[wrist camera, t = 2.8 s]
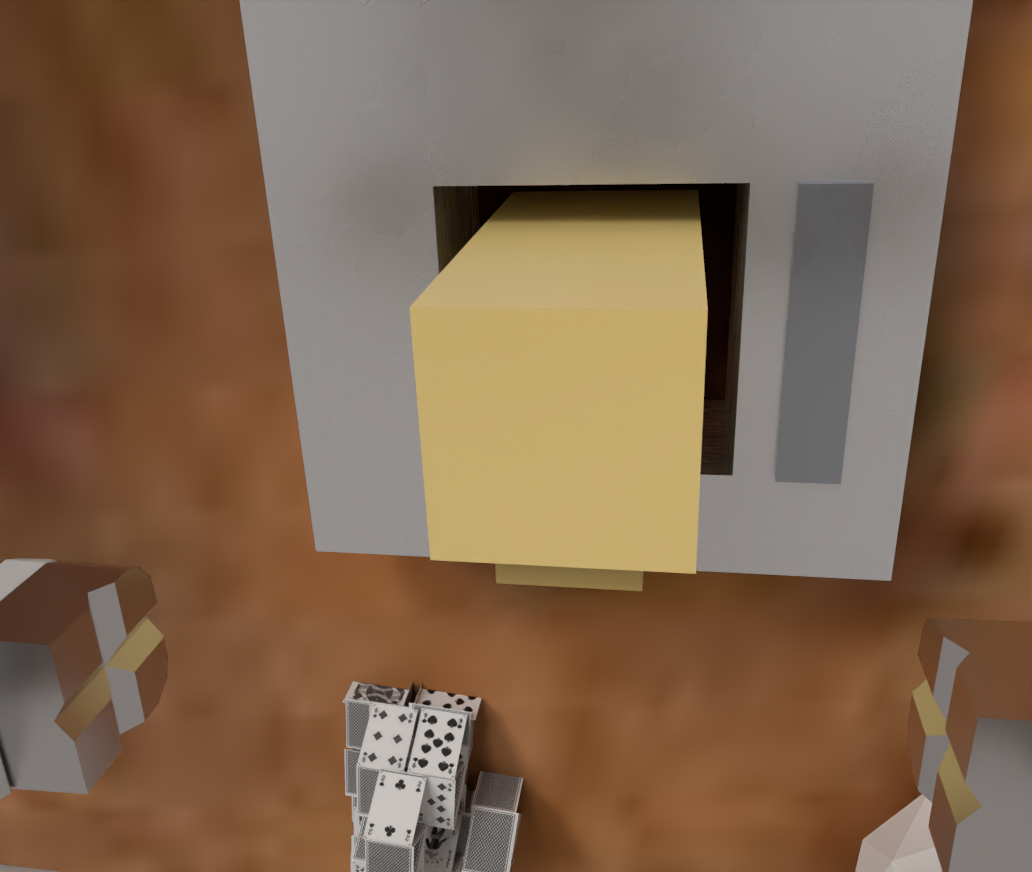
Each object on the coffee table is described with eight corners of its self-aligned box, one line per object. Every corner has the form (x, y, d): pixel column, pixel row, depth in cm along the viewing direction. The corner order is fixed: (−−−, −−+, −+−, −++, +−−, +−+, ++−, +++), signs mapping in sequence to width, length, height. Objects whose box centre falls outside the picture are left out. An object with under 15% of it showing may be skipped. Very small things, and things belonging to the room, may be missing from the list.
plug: (513, 191, 21) (408, 306, 13) (697, 189, 21) (707, 310, 13) (521, 402, 23) (435, 614, 15) (689, 406, 23) (693, 630, 15)
